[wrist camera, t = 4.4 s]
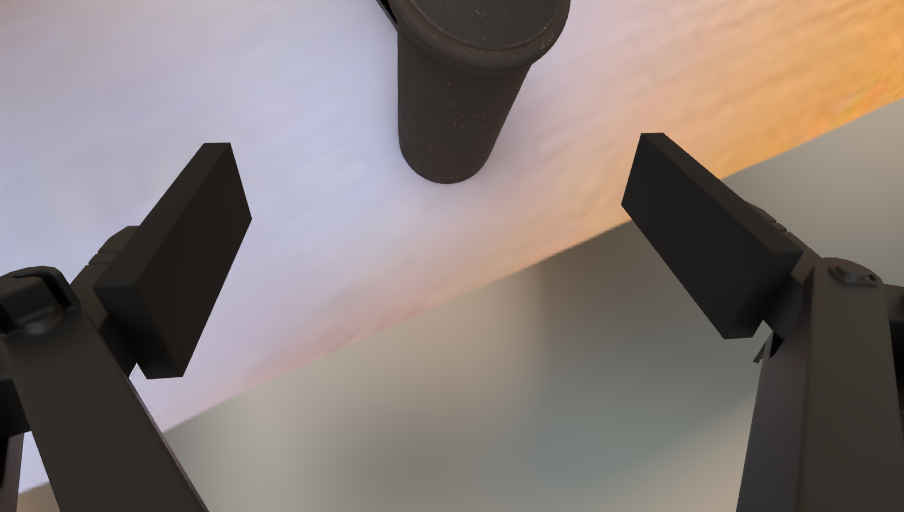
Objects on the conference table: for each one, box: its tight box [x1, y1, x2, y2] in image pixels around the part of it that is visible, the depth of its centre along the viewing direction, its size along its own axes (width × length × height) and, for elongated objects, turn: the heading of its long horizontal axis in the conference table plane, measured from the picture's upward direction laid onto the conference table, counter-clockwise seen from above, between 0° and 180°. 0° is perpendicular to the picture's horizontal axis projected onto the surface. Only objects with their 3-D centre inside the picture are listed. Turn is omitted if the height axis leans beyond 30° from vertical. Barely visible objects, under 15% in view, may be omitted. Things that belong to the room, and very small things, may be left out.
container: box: [388, 0, 571, 184], centre depth 30 cm, size 9×9×20 cm
